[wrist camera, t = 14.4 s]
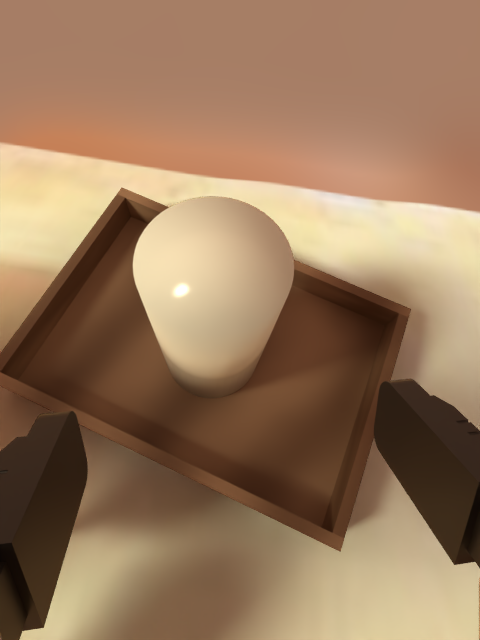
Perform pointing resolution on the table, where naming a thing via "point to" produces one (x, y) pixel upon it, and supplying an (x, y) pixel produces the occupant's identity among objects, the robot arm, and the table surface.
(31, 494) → the robot arm
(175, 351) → the dome-topped cylinder
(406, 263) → the table surface
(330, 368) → the serving tray
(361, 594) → the table surface
